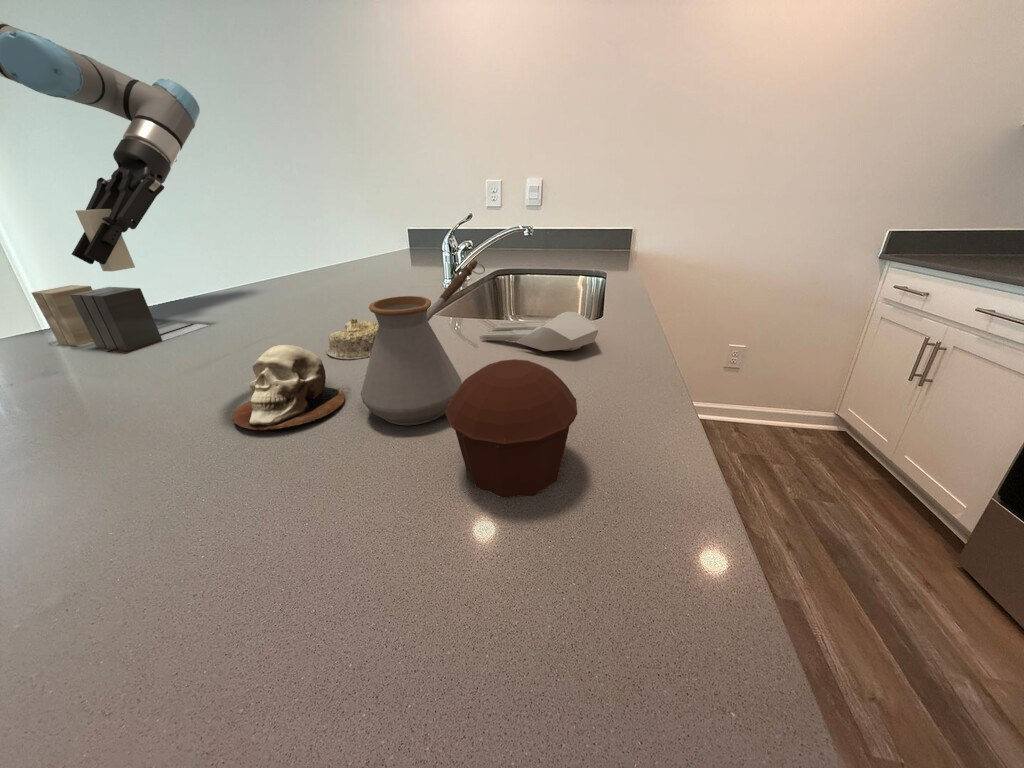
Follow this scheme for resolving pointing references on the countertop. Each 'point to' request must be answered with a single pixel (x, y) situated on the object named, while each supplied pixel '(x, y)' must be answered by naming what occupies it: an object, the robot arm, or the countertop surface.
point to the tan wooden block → (64, 314)
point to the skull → (287, 390)
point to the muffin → (512, 426)
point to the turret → (548, 333)
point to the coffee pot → (410, 360)
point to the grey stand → (122, 319)
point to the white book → (120, 253)
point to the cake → (353, 340)
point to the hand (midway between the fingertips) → (88, 259)
